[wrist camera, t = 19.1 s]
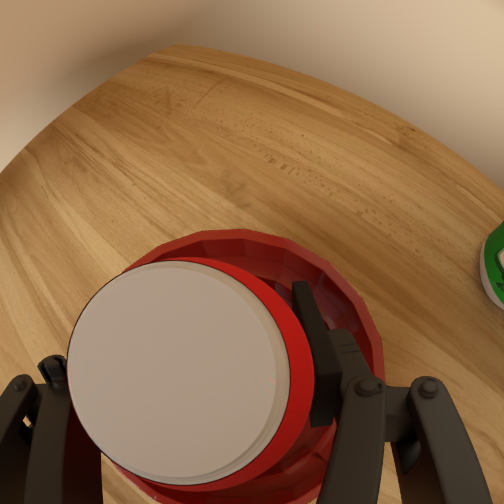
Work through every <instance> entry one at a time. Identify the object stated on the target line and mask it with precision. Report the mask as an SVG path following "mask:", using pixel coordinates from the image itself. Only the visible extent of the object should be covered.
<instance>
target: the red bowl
mask: <svg viewBox="0 0 504 504" xmlns="http://www.w3.org/2000/svg"><path fill="white" fill-rule="evenodd" d="M178 257H197V258H207V259H212V260H217V261H221V262H224V263H228V264H231V265H233V266H236V267H238V268H241V269H243V270H245V271H247V272H249V273H251V274H252V275H254V276H255V277H257V278H258V279H260V280H262V281H263V282H264V283H266V284H267V285H268V286H269V287H271V288H272V289H273V290H274V291H275V292H276V293H277V294H278V295H279V296H280V297H281V298H282V299H283V300H284V301H285V302H286V304H287V305H288V306H289V307H290V308H291V310H292V281H306V280H307V281H308V283H309V286H310V288H311V291H312V293H313V296H314V298H315V300H316V303H317V305H318V308H319V310H320V313H321V315H322V318H323V321H324V323H325V326H326V328H327V330H333V329H342V328H345V329H346V330H347V331H349V332H350V333H351V334H353V336H354V338H355V340H356V342H357V344H358V346H359V348H360V351H361V352H362V354H363V356H364V358H365V360H366V362H367V364H368V366H369V369H370V371H371V373H372V375H374V376H376V377H378V378H380V379H382V380H383V382H384V383H385V371H384V359H383V349H382V342H381V341H382V340H381V338H380V336H379V333H378V331H377V329H376V327H375V324H374V322H373V320H372V318H371V315H370V313H369V311H368V309H367V307H366V305H365V302H364V300H363V298H362V297H361V296H360V295H359V294H358V293H357V291H356V290H355V289H354V288H353V287H352V286H351V285H350V284H349V283H348V282H347V280H346V279H345V278H344V277H343V276H342V275H341V274H340V273H339V272H338V271H337V270H336V269H335V268H334V266H333V265H332V264H331V263H329V262H328V261H326V260H324V259H323V258H321V257H319V256H318V255H316V254H314V253H312V252H311V251H309V250H307V249H305V248H304V247H302V246H300V245H299V244H297V243H295V242H293V241H292V240H289V239H286V238H282V237H278V236H274V235H270V234H265V233H261V232H257V231H253V230H248V229H229V230H209V231H201V232H196V233H193V234H190V235H187V236H185V237H182V238H179V239H176V240H173V241H170V242H167V243H164V244H161V245H160V246H157V247H156V248H155V249H153V250H152V251H150V252H149V253H147V254H146V255H145V256H143V257H142V258H140V259H139V260H137V261H136V262H135V263H133V264H132V265H130V266H129V267H128V268H126V269H125V271H127V270H129V269H132V268H134V267H137V266H140V265H143V264H146V263H151V262H155V261H160V260H164V259H170V258H178ZM125 271H123V272H125ZM123 272H122V273H123ZM336 427H337V426H336V422H335V418H334V419H333V424H332V425H329V426H322V427H314V428H311V424H310V419H309V415H308V417H307V420H306V423H305V425H304V427H303V429H302V431H301V433H300V435H299V436H298V438H297V439H296V441H295V442H294V444H293V445H292V446H291V448H290V449H289V450H288V451H287V452H286V454H285V455H284V456H283V457H282V458H281V459H280V460H279V461H278V462H276V463H275V464H274V465H273V466H272V467H270V468H269V469H268V470H266V471H265V472H263V473H262V474H260V475H258V476H256V477H255V478H253V479H251V480H249V481H246V482H244V483H242V484H239V485H236V486H233V487H229V488H226V489H220V490H214V491H202V492H193V491H181V490H175V489H170V488H166V487H162V486H159V485H156V484H153V483H151V482H148V481H146V480H144V479H141V478H139V477H137V476H135V475H133V474H132V473H130V472H128V471H126V470H124V469H123V468H121V467H120V466H118V465H117V464H115V463H114V462H112V461H111V462H112V463H113V465H114V466H115V468H116V469H117V470H118V471H119V472H120V473H121V474H122V475H124V476H125V477H126V478H127V479H128V480H129V481H131V482H132V483H133V484H134V485H135V486H137V487H138V488H139V489H140V490H142V491H143V492H144V493H145V494H147V495H148V496H149V497H151V498H152V499H154V500H155V501H157V502H159V503H162V504H308V503H309V502H311V501H313V500H314V499H316V498H317V497H318V495H319V492H320V488H321V485H322V482H323V478H324V475H325V471H326V467H327V464H328V460H329V456H330V452H331V448H332V444H333V443H332V442H333V438H334V435H335V431H336Z"/></svg>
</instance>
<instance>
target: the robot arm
mask: <svg viewBox="0 0 504 504" xmlns="http://www.w3.org/2000/svg"><path fill="white" fill-rule="evenodd" d="M292 311H293V313H294V314H295V316H296V317H297V319H298V321H299V322H300V324H301V326H302V328H303V330H304V332H305V335H306V338H307V340H308V343H309V346H310V350H311V354H312V359H313V366H314V393H313V399H312V404H311V409H310V412H309V419H310V424H311V428H314V427H322V426H329V425H332V424H333V419H334V418H335V422H336V426H337V427H336V431H335V435H334V438H333V442H332V443H333V444H332V448H331V452H330V456H329V460H328V464H327V467H326V471H325V475H324V478H323V482H322V485H321V488H320V492H319V495H318V498H317V501H316V504H377V500H378V494H379V488H380V481H381V473H382V465H383V456H384V445H385V442H390V444H391V448H392V453H393V457H394V462H395V467H396V472H397V477H398V482H399V488H400V493H401V499H402V504H493V502H492V499H491V496H490V492H489V489H488V486H487V483H486V480H485V477H484V474H483V471H482V469H481V466H480V463H479V460H478V458H477V455H476V453H475V450H474V448H473V445H472V443H471V440H470V438H469V436H468V433H467V431H466V429H465V426H464V424H463V422H462V420H461V417H460V415H459V413H458V411H457V409H456V407H455V405H454V403H453V401H452V399H451V396H450V394H449V392H448V390H447V388H446V387H445V385H444V384H443V383H442V381H440V380H439V379H437V378H434V377H431V376H422V377H419V378H416V379H415V380H414V381H413V382H412V384H411V386H410V387H392V386H387V385H386V384H385V383H384V382H383V380H382V379H380V378H378V377H376V376H374V375H372V373H371V371H370V369H369V366H368V364H367V362H366V360H365V358H364V356H363V354H362V352H361V351H360V348H359V346H358V344H357V342H356V340H355V338H354V336H353V334H351V333H350V332H349V331H347V330H346V329H345V328H342V329H333V330H327V328H326V326H325V323H324V321H323V318H322V315H321V313H320V310H319V308H318V305H317V303H316V300H315V298H314V296H313V293H312V291H311V288H310V286H309V283H308V281H307V280H306V281H292ZM37 367H38V369H39V371H40V372H41V374H42V376H43V378H44V380H45V381H46V384H35V383H34V381H33V380H32V378H31V377H30V376H29V375H27V374H22V375H18V376H16V377H15V378H13V379H12V381H11V382H10V383H9V384H8V386H7V387H6V389H5V390H4V392H3V393H2V395H1V396H0V504H103V493H102V477H101V451H100V450H99V449H98V448H97V447H96V446H95V444H94V443H93V442H92V441H91V439H90V438H89V437H88V435H87V434H86V432H85V431H84V429H83V428H82V426H81V424H80V422H79V420H78V418H77V416H76V414H75V411H74V409H73V406H72V403H71V400H70V396H69V391H68V386H67V377H66V359H65V358H64V356H61V355H51V356H48V357H46V358H44V359H43V360H42V361H41V362H40V363H39V364H38V366H37ZM25 416H26V417H27V419H28V420H29V421H30V423H31V424H30V426H29V427H27V426H26V424H25V423H24V422H23V419H24V417H25Z"/></svg>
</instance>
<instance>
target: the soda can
mask: <svg viewBox="0 0 504 504" xmlns="http://www.w3.org/2000/svg"><path fill="white" fill-rule="evenodd" d="M480 276H481V280H482V284H483V286H484V289H485V291H486V293H487V295H488V296H489V298H490V299H491V300H492V302H494V303H495V304H496V305H497V306H499V307H500V308H501V309H503V310H504V221H503V222H502V223H501V224H500V225H499V226H498V227H497V228H496V229H495V230H494V231H493V232H492V233H491V234H490V235H489V236H488V237H487V238H486V239H485V241H484V242H483V244H482V246H481V252H480Z"/></svg>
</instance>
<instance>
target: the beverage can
mask: <svg viewBox="0 0 504 504" xmlns="http://www.w3.org/2000/svg"><path fill="white" fill-rule="evenodd" d="M66 377H67V386H68V391H69V396H70V400H71V403H72V406H73V409H74V411H75V414H76V416H77V418H78V420H79V422H80V424H81V426H82V428H83V429H84V431H85V432H86V434H87V435H88V437H89V438H90V439H91V441H92V442H93V443H94V444H95V446H96V447H97V448H98V449H99V450H100V451H101V452H102V453H103V454H104V455H105V456H106V457H108V458H109V459H110V460H111V461H112V462H114V463H115V464H117V465H118V466H120V467H121V468H123V469H124V470H126V471H128V472H130V473H132V474H133V475H135V476H137V477H139V478H141V479H144V480H146V481H148V482H151V483H153V484H156V485H159V486H162V487H166V488H170V489H175V490H181V491H193V492H202V491H214V490H220V489H226V488H229V487H233V486H236V485H239V484H242V483H244V482H246V481H249V480H251V479H253V478H255V477H256V476H258V475H260V474H262V473H263V472H265V471H266V470H268V469H269V468H270V467H272V466H273V465H274V464H275V463H276V462H278V461H279V460H280V459H281V458H282V457H283V456H284V455H285V454H286V452H287V451H288V450H289V449H290V448H291V446H292V445H293V444H294V442H295V441H296V439H297V438H298V436H299V435H300V433H301V431H302V429H303V427H304V425H305V423H306V420H307V417H308V415H309V412H310V409H311V404H312V399H313V393H314V366H313V359H312V354H311V350H310V346H309V343H308V340H307V338H306V335H305V332H304V330H303V328H302V326H301V324H300V322H299V321H298V319H297V317H296V316H295V314H294V313H293V311H292V310H291V308H290V307H289V306H288V305H287V304H286V302H285V301H284V300H283V299H282V298H281V297H280V296H279V295H278V294H277V293H276V292H275V291H274V290H273V289H272V288H271V287H269V286H268V285H267V284H266V283H264V282H263V281H262V280H260V279H258V278H257V277H255V276H254V275H252V274H251V273H249V272H247V271H245V270H243V269H241V268H238V267H236V266H233V265H231V264H228V263H224V262H221V261H217V260H212V259H207V258H197V257H178V258H170V259H164V260H160V261H155V262H151V263H146V264H143V265H140V266H137V267H134V268H132V269H129V270H127V271H125V272H123V273H121V274H120V275H118V276H116V277H115V278H113V279H112V280H110V281H109V282H108V283H106V284H105V285H104V286H103V287H102V288H101V289H99V291H98V292H97V293H96V294H95V295H94V296H93V297H92V298H91V299H90V301H89V302H88V303H87V304H86V306H85V307H84V309H83V311H82V312H81V314H80V316H79V318H78V320H77V322H76V324H75V326H74V329H73V331H72V334H71V338H70V341H69V346H68V351H67V360H66Z"/></svg>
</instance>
